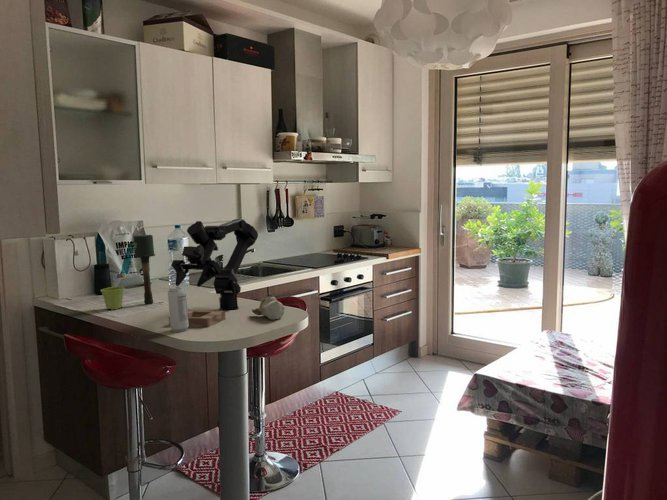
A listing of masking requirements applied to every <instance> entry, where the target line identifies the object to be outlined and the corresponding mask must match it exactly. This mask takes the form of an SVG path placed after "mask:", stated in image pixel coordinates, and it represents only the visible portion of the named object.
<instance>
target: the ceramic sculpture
mask: <svg viewBox="0 0 667 500" xmlns="http://www.w3.org/2000/svg"><path fill="white" fill-rule="evenodd" d="M251 311H252V312H251V313H253V314H255V315H256V316H264V317H266V318H268V319H269V320H273V321H276V320H275V319H277V320H279V319H281V318H282V317H283V316H284V314H285V306H284V304H283V303H281V302H280V301H278V299H276V297H275V296H273V295H272V294H268V296H267V297H264V298H263V299H262V300H261V301H260V304H259V307H258V308H255V309H253V308H252V309H251Z"/></svg>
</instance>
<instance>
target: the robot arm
mask: <svg viewBox="0 0 667 500" xmlns="http://www.w3.org/2000/svg"><path fill="white" fill-rule="evenodd" d="M186 233H187V234H188V235H189V237H190V238H191V239H192V241H193V243H194V244H196V245H197V246H189V245H188V246H187V245H186V246H183V249H182V253H181V255H182V257H183V256H184V257H185V258H186V260H187V263H186V262H185V260H183V259H174V260H172V262H171V264H170V266H171V267H172V268H173V270H174V271H175V274H176V275H175V286H180V285H181V283H182V282H183V281H184V280H185V279H186V277H187V275H188V273H189V270H196V271H202V272H201V274H200V277H199V278H198V281H197V283H196V286H197V287H198V288H199V287H201V286H202V285H204V284H205V283H207V282H208V281H210V280H211V279H212V278H214V280H213V287H214V290H215V294H216V295H219V297H218V303H219V308H220V309H221V311H229V310H231V311H232V310H238V309H240V308H239V305H238V294H240V293H241V288H242V287H241V286H240V285H239V283H238V277H237V274H238V273H237V272H238V270H239V269H240V266H241V264H242V262H243V260H244V258H245V256H246V254H247V251H248V249H249V248H251V247H252V246H253V245H254V244H255V243H256V241H257V239H258V236H259V233H258V231H257V230H256V228H255V227H254V226H253V225H251V224H250V223H248V222H246V221H245V219H243V218H241V219H240V218H237V219H236V218H235V219H232V220H231V221H230V220H229V221H227V222H225V223H222V224H219V225H206V226H204V224H203V222H202V221H201V220H200V221H198V220H197V221H195V223H193V224H191V225H190V226H188V227H187V229H186ZM231 233H233V234H234V235H235V240H236V244H235V247H234V249H233V251H232V253H231V255H230V258H229V259H228V261H227V264H226V266H225V268H224V269H222V267H221V266H220V264H219V263H218V261H217V260H216V259H212V257H211V256H212V255H213V252H214V251H215V252H217V251H218V250H219V247H218V244H217V243H216V242H215V241H222V240H223V239H225V238H226V236H227V235H228V234H231ZM188 262H189V263H188Z"/></svg>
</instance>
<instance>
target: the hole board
mask: <svg viewBox="0 0 667 500" xmlns="http://www.w3.org/2000/svg"><path fill="white" fill-rule="evenodd" d="M187 310H188V323H189V327H193V328H194V327H198V328H209V327H211V326H213V325H216V324H218V323H220V322H222V321H225V320H226V310H210V309H209V310H208V309H207V310H206V309H205V310H203V309H187ZM168 324H169V325H168V326H170V316H168Z"/></svg>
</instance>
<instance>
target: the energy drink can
mask: <svg viewBox="0 0 667 500" xmlns="http://www.w3.org/2000/svg"><path fill="white" fill-rule="evenodd" d="M187 299H188V298H187V290H186V289H185V287H184V285H178V286H176V285H175V286H170V287H169V289H168V292H167V300H168V311H169V313H168V314H169V317H170V325H169V326H170V330H172V332H173V333H174V332H175V333H177V332H178V333H180V332H185V331H187V330H188V328H189V327H190V326H189V323H188V310H189V309H188V300H187Z"/></svg>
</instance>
